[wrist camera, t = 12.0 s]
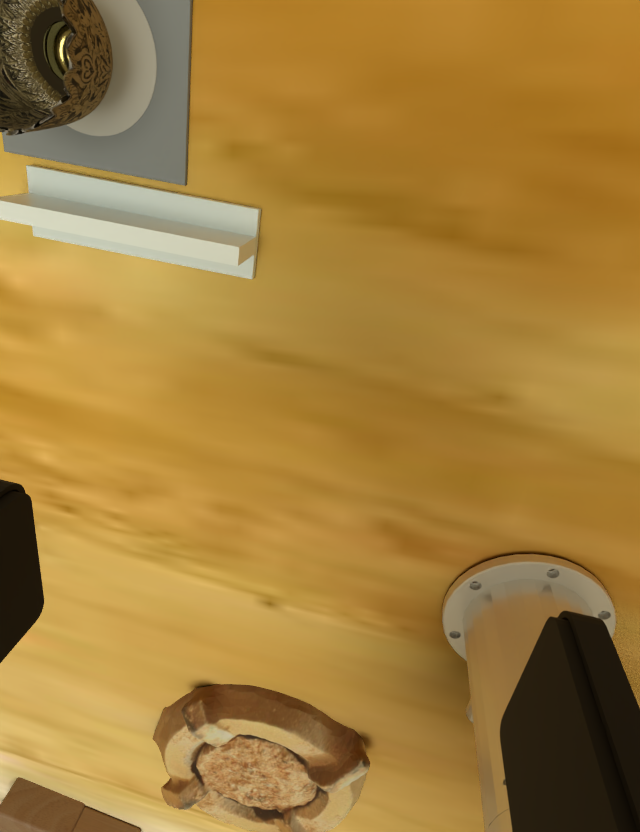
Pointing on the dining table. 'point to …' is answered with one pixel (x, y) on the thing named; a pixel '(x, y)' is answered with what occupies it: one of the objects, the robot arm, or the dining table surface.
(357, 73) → the dining table surface
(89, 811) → the wooden block set
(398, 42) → the dining table surface
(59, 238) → the low wall
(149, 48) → the rest pad
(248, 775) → the ashtray
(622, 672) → the robot arm
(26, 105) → the ornate metal lamp shade
